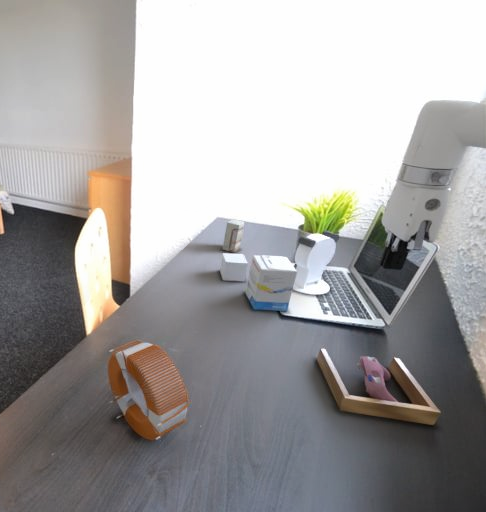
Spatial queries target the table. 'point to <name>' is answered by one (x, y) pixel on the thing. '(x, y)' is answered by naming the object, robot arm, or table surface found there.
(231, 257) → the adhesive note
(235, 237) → the cosmetics bottle
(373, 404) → the bay
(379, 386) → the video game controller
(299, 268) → the white curved upright piece
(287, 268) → the ink box
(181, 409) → the coil
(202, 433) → the table surface
